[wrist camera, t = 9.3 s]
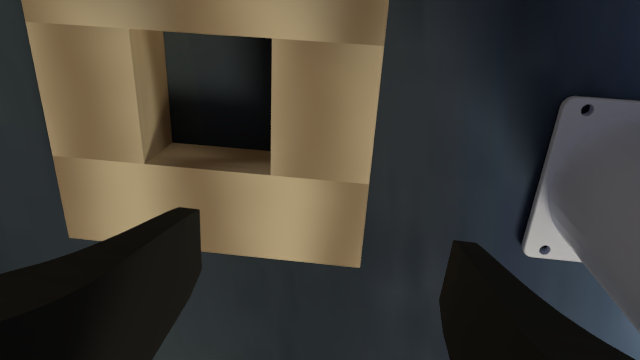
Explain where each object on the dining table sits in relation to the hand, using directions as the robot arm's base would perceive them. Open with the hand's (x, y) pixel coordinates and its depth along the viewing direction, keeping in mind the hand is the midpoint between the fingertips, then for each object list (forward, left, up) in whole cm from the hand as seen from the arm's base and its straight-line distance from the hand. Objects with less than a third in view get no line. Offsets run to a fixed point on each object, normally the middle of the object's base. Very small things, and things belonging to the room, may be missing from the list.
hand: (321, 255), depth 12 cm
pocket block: (+6, -2, -9) cm, 11 cm away
